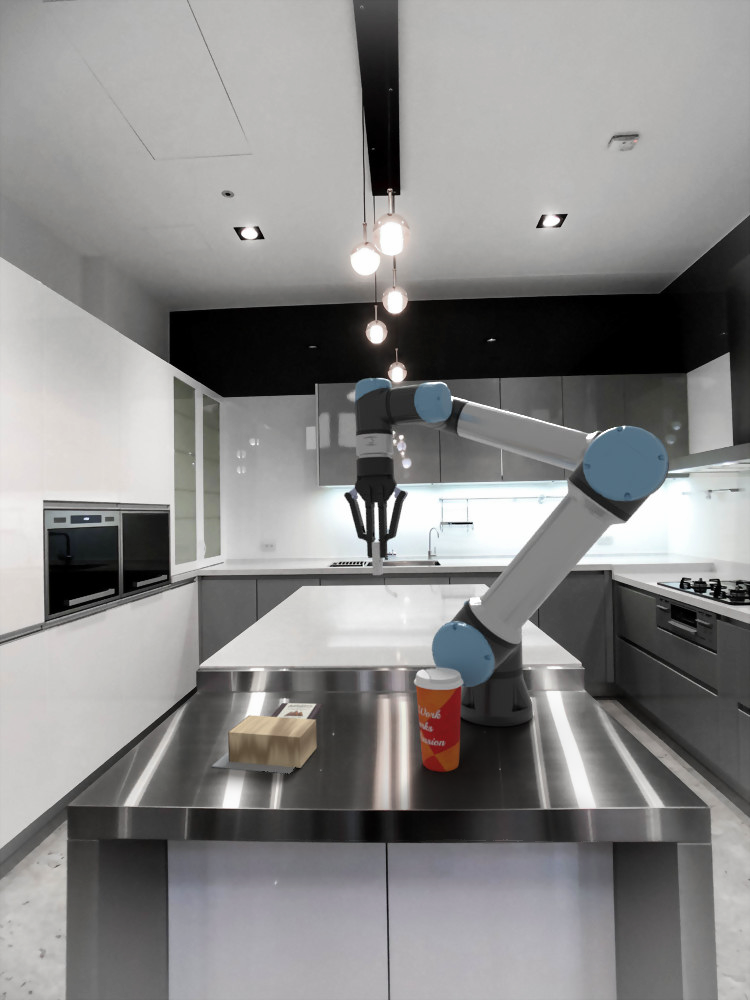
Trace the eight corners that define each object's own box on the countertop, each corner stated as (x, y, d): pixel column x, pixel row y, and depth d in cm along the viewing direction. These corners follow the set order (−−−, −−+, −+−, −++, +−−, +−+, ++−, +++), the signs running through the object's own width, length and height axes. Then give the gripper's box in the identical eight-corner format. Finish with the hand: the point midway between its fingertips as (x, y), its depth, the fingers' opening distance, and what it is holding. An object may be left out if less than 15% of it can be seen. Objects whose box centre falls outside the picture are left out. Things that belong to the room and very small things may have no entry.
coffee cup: (408, 758, 98) (405, 670, 98) (450, 749, 101) (448, 664, 101) (429, 779, 90) (427, 683, 90) (475, 769, 93) (473, 676, 93)
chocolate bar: (254, 736, 108) (282, 703, 126) (254, 741, 108) (282, 707, 126) (300, 737, 107) (322, 703, 125) (301, 742, 107) (322, 708, 125)
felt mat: (315, 743, 105) (314, 742, 105) (290, 773, 93) (290, 772, 93) (244, 738, 108) (244, 737, 108) (212, 766, 97) (212, 765, 97)
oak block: (315, 719, 103) (249, 715, 106) (299, 737, 95) (228, 732, 98) (316, 747, 103) (249, 742, 106) (300, 767, 95) (228, 761, 98)
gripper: (338, 457, 114) (341, 576, 114) (403, 454, 111) (406, 576, 111) (349, 459, 121) (351, 572, 121) (410, 457, 118) (413, 572, 118)
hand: (377, 574), depth 116 cm, fingers closed
